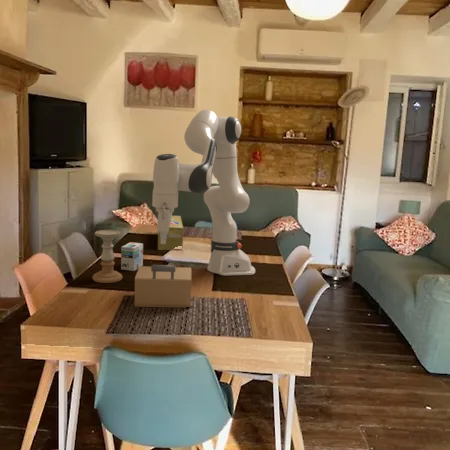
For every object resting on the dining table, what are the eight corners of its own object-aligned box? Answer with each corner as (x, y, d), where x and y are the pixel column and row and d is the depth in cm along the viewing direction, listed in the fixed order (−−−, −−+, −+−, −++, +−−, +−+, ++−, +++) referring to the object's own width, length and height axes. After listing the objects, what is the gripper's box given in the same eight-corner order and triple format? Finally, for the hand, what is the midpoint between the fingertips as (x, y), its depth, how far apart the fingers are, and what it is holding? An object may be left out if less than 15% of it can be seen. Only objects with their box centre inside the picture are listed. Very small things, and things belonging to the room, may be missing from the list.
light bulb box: (134, 271, 209) (134, 248, 207) (120, 269, 210) (120, 246, 208) (143, 265, 219) (143, 243, 217) (129, 263, 220) (130, 241, 218)
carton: (190, 293, 183) (191, 269, 181) (190, 307, 168) (191, 281, 166) (139, 292, 181) (139, 267, 179) (134, 306, 166) (134, 279, 165)
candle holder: (107, 285, 188) (107, 236, 184) (86, 279, 194) (85, 232, 190) (128, 278, 198) (129, 232, 194) (108, 272, 204) (108, 228, 201)
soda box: (182, 251, 250) (183, 227, 248) (157, 250, 249) (157, 227, 246) (180, 235, 290) (181, 214, 287) (158, 234, 288) (158, 214, 285)
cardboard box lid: (191, 269, 181) (191, 255, 180) (191, 282, 165) (191, 266, 164) (139, 267, 179) (139, 253, 178) (134, 280, 163) (134, 265, 162)
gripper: (173, 206, 150) (171, 247, 153) (175, 198, 170) (174, 235, 173) (153, 205, 150) (152, 247, 152) (158, 197, 170) (157, 234, 172)
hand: (164, 240), depth 163 cm, fingers open, 8 cm apart
